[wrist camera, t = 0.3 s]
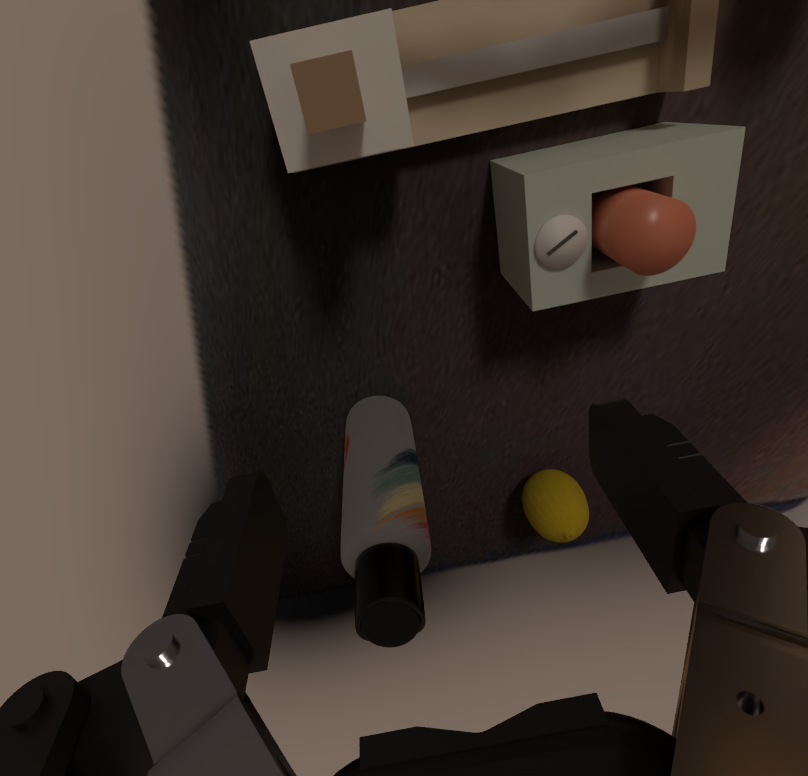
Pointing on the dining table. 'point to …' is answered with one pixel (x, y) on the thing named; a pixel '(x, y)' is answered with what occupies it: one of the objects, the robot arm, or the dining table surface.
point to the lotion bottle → (384, 522)
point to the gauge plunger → (641, 229)
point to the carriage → (335, 90)
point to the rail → (543, 58)
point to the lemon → (555, 505)
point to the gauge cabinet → (598, 171)
